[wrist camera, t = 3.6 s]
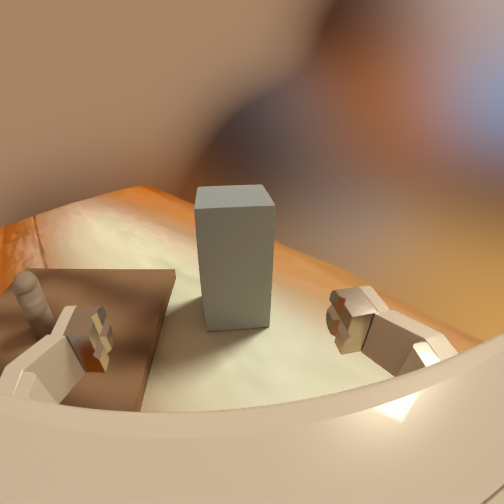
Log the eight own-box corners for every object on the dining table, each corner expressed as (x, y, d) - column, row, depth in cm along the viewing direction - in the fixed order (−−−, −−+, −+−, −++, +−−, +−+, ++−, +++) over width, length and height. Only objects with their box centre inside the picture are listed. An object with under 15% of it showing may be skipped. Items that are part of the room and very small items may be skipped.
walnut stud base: (127, 473, 11) (73, 416, 8) (-58, 394, 10) (-99, 336, 7) (175, 277, 29) (168, 215, 26) (28, 275, 28) (12, 225, 25)
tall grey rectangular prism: (269, 326, 23) (275, 205, 18) (206, 331, 22) (194, 208, 17) (259, 290, 27) (262, 184, 22) (205, 294, 27) (197, 187, 22)
